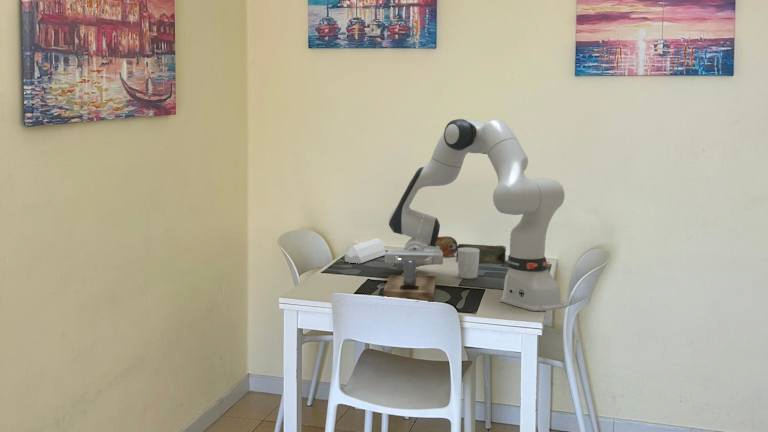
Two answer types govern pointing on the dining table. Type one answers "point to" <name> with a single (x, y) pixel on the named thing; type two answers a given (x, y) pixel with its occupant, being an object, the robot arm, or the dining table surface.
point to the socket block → (422, 292)
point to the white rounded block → (365, 251)
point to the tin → (447, 245)
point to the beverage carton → (487, 253)
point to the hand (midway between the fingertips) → (412, 261)
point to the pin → (409, 274)
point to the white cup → (468, 262)
